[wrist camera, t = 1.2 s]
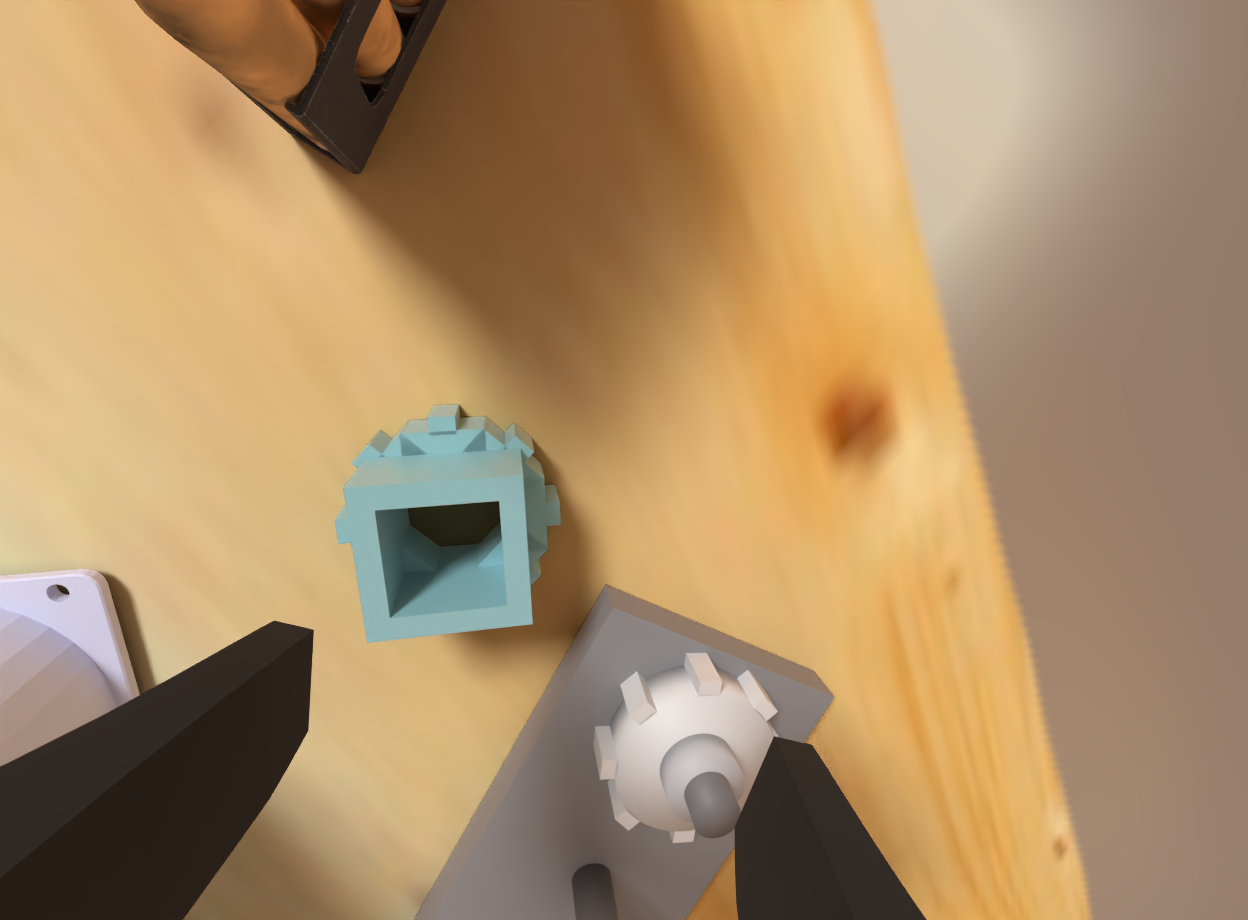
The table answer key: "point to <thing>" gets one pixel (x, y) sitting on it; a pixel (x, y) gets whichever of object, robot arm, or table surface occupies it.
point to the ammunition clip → (309, 60)
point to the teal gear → (414, 564)
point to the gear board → (573, 794)
